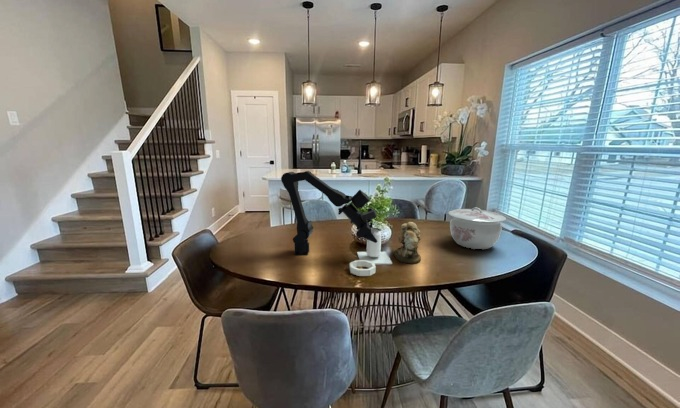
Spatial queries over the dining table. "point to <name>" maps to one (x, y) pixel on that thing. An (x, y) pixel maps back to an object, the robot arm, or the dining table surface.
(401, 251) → the owl figurine
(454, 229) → the chamber pot
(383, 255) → the mat
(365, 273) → the ring
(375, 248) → the can
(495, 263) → the dining table surface
